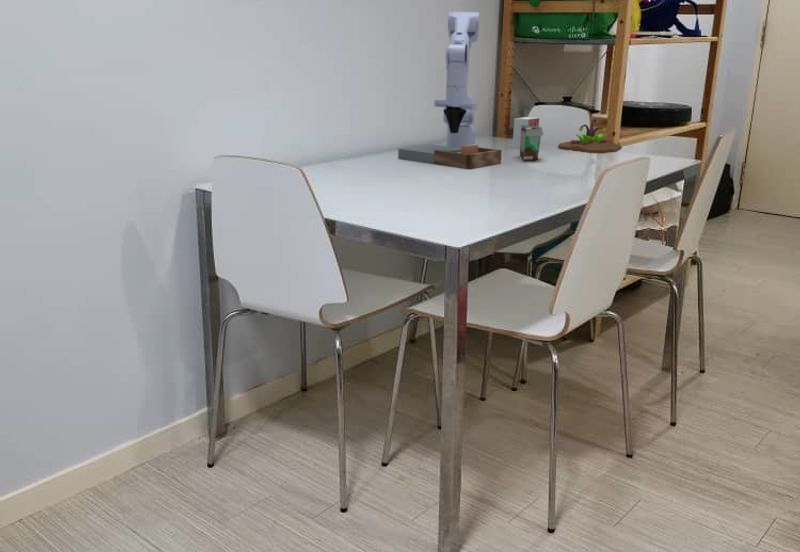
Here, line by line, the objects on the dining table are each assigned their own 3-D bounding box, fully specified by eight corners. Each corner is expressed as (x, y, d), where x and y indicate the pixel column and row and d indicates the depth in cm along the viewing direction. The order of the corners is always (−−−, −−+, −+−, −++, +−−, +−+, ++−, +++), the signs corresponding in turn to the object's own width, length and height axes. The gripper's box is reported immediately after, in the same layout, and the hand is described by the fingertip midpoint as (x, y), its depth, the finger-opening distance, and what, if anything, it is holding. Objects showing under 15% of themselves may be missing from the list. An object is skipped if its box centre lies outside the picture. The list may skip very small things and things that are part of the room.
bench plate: (430, 153, 255) (431, 144, 254) (465, 158, 247) (466, 148, 246) (398, 158, 244) (398, 148, 243) (433, 163, 235) (434, 153, 234)
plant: (630, 152, 271) (634, 119, 268) (602, 158, 257) (606, 123, 254) (578, 146, 284) (581, 114, 281) (549, 151, 270) (552, 117, 267)
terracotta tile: (472, 144, 238) (478, 144, 236) (472, 160, 239) (477, 161, 238) (460, 145, 233) (466, 146, 232) (460, 162, 235) (465, 163, 234)
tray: (465, 158, 247) (466, 145, 245) (500, 163, 239) (501, 150, 237) (433, 163, 235) (434, 150, 234) (469, 169, 227) (470, 155, 226)
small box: (526, 151, 267) (528, 119, 264) (511, 149, 270) (513, 118, 267) (537, 148, 273) (539, 117, 270) (523, 147, 276) (525, 116, 273)
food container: (544, 163, 242) (546, 129, 239) (523, 162, 242) (526, 129, 239) (538, 157, 253) (540, 125, 250) (518, 156, 253) (521, 124, 251)
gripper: (428, 85, 235) (426, 131, 239) (467, 88, 226) (465, 136, 230) (442, 84, 240) (441, 129, 244) (482, 87, 231) (479, 134, 235)
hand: (454, 132), depth 238 cm, fingers closed
